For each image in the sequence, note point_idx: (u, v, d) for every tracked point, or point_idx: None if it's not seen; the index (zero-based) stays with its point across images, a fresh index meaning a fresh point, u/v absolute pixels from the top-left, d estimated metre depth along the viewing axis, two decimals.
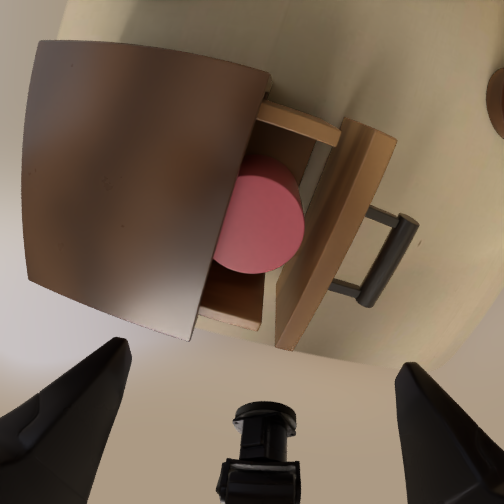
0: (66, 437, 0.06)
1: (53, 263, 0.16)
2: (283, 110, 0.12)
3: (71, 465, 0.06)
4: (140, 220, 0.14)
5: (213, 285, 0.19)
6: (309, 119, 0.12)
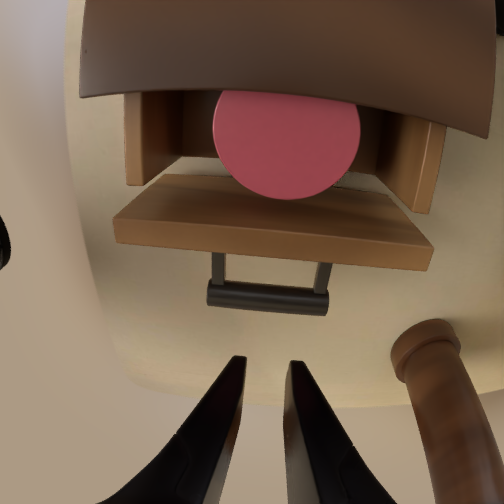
0: (217, 476, 0.05)
1: None
2: (441, 150, 0.10)
3: (213, 503, 0.05)
4: None
5: (162, 99, 0.12)
6: (435, 178, 0.10)
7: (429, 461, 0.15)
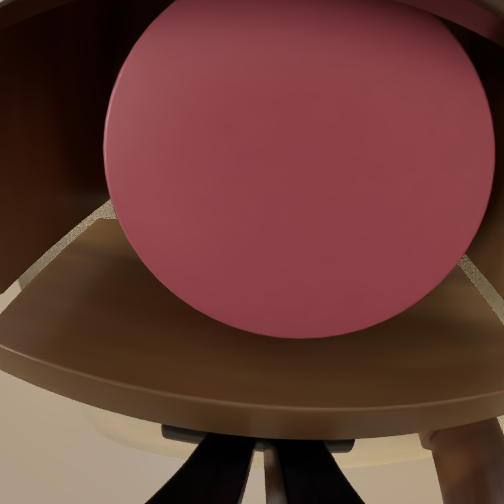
0: (246, 479, 0.05)
1: None
2: None
3: None
4: None
5: (40, 102, 0.05)
6: None
7: None
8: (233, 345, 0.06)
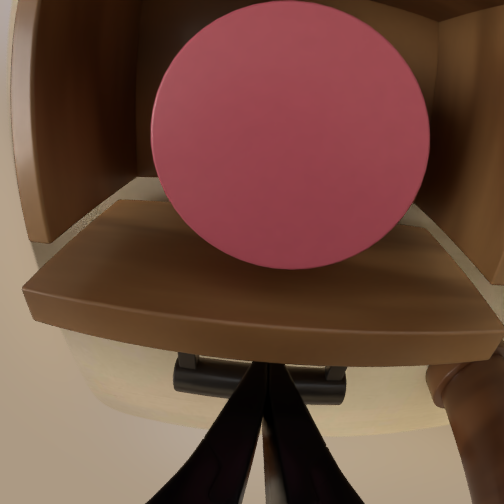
0: (246, 479, 0.05)
1: None
2: None
3: None
4: None
5: (86, 95, 0.06)
6: None
7: None
8: (238, 285, 0.08)
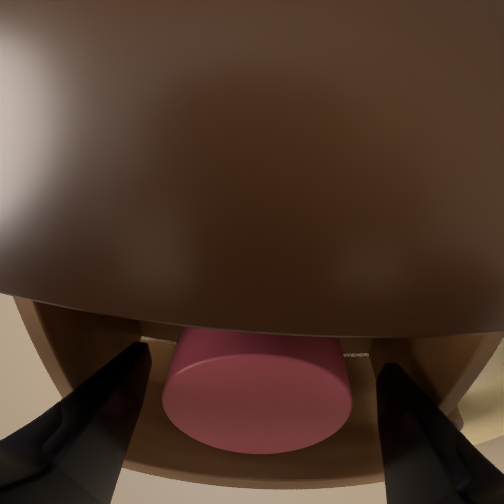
0: (91, 446, 0.06)
1: None
2: (446, 414, 0.07)
3: (95, 474, 0.06)
4: (259, 23, 0.02)
5: (97, 334, 0.09)
6: None
7: None
8: None
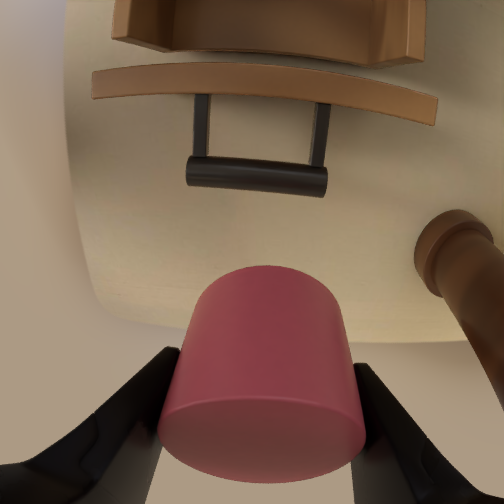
0: (129, 458, 0.06)
1: None
2: (425, 3, 0.07)
3: (131, 486, 0.06)
4: None
5: None
6: (424, 27, 0.08)
7: (492, 365, 0.11)
8: None
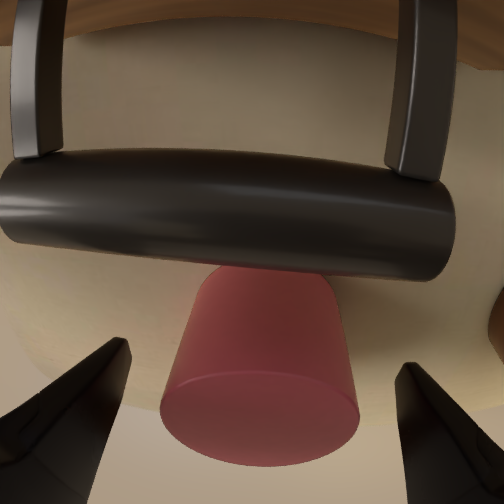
0: (66, 437, 0.06)
1: None
2: None
3: (71, 465, 0.06)
4: None
5: None
6: None
7: None
8: None
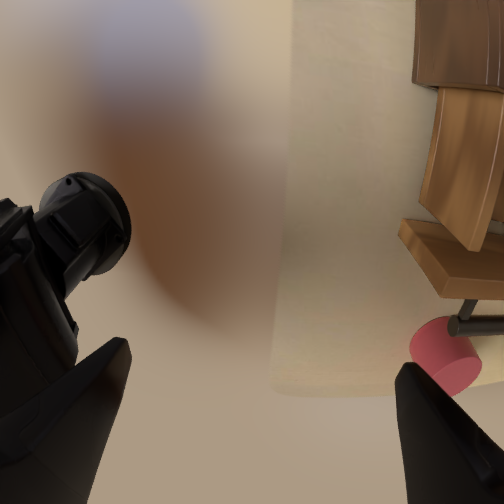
0: (66, 437, 0.06)
1: None
2: None
3: (71, 465, 0.06)
4: None
5: None
6: None
7: None
8: None
